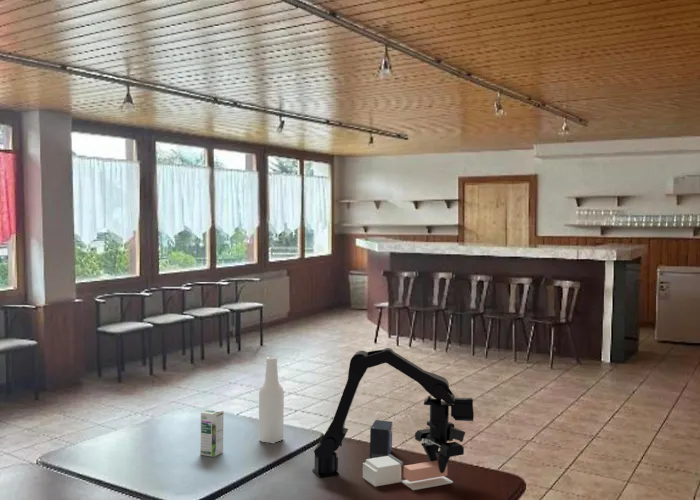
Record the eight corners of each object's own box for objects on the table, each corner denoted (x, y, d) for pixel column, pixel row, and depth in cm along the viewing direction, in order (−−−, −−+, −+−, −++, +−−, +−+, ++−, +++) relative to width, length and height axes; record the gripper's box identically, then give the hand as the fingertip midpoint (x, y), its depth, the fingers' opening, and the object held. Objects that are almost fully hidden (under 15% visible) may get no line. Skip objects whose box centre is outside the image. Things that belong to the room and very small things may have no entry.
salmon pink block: (410, 481, 195) (410, 470, 195) (403, 477, 198) (403, 465, 198) (447, 475, 200) (447, 464, 200) (440, 471, 204) (440, 459, 204)
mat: (413, 490, 193) (413, 488, 193) (401, 481, 200) (401, 480, 200) (453, 482, 199) (453, 481, 199) (440, 475, 206) (440, 473, 206)
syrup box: (199, 455, 222) (199, 412, 221) (209, 450, 227) (209, 408, 227) (214, 457, 220) (214, 414, 219) (223, 452, 225) (224, 409, 225)
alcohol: (255, 442, 235) (255, 359, 235) (263, 435, 244) (264, 354, 243) (278, 444, 233) (279, 360, 233) (286, 437, 242) (287, 355, 241)
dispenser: (374, 486, 196) (375, 466, 196) (362, 477, 203) (362, 458, 203) (402, 481, 200) (403, 462, 200) (390, 472, 207) (390, 454, 207)
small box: (388, 461, 218) (388, 429, 218) (369, 459, 219) (369, 428, 219) (392, 450, 229) (393, 420, 228) (374, 449, 230) (374, 419, 230)
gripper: (479, 424, 196) (478, 476, 196) (444, 409, 213) (443, 457, 213) (447, 428, 191) (446, 482, 192) (414, 412, 208) (413, 461, 208)
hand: (438, 470), depth 201 cm, fingers closed on salmon pink block, 4 cm apart
